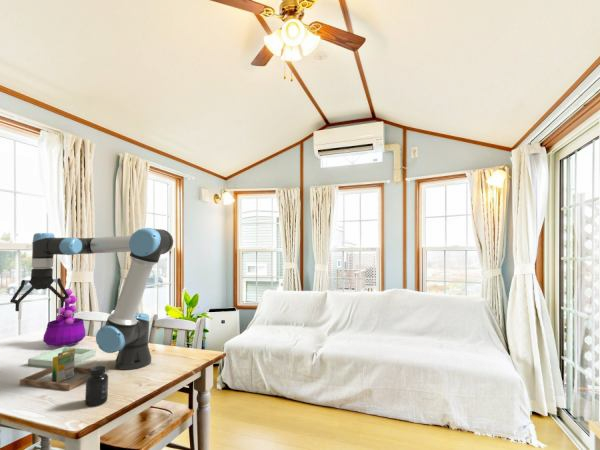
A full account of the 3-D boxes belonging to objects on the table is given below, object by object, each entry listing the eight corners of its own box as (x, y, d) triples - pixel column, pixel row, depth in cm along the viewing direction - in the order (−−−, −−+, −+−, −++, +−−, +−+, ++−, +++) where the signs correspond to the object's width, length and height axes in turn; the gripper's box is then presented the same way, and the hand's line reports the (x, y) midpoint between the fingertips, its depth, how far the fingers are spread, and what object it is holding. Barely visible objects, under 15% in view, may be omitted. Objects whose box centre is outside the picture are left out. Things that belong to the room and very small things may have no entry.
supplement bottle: (102, 396, 122) (104, 363, 123) (110, 402, 118) (112, 367, 119) (81, 403, 117) (83, 368, 118) (88, 409, 113) (90, 373, 113)
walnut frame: (102, 374, 142) (102, 369, 142) (69, 390, 126) (69, 385, 126) (57, 369, 146) (57, 364, 146) (19, 384, 130) (20, 379, 130)
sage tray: (95, 355, 164) (95, 349, 164) (63, 369, 146) (63, 362, 146) (63, 352, 168) (63, 346, 168) (27, 365, 149) (28, 358, 150)
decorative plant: (54, 340, 188) (58, 286, 189) (90, 339, 191) (93, 286, 193) (34, 350, 169) (38, 291, 171) (75, 349, 172) (78, 291, 174)
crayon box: (68, 375, 140) (70, 347, 141) (74, 376, 139) (75, 348, 140) (50, 382, 133) (52, 352, 134) (56, 383, 132) (58, 353, 133)
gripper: (75, 266, 157) (73, 311, 156) (5, 268, 142) (3, 318, 141) (76, 267, 151) (74, 314, 150) (3, 269, 136) (0, 322, 135)
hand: (40, 316), depth 145 cm, fingers open, 13 cm apart
